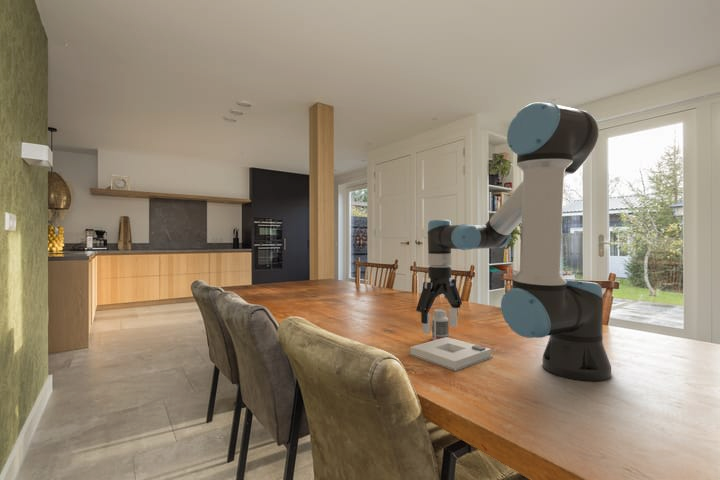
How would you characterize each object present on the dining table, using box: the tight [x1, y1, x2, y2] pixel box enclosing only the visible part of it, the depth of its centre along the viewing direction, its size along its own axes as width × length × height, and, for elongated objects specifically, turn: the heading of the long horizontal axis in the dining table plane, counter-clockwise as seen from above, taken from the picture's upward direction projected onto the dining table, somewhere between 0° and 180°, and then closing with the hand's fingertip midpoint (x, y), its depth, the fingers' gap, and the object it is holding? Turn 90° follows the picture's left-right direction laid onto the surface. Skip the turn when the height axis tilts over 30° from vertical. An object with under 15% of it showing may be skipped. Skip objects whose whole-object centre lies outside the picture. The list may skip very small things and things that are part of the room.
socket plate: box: [408, 337, 493, 372], centre depth 105 cm, size 17×17×3 cm
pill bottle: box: [431, 308, 450, 341], centre depth 122 cm, size 5×5×10 cm
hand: (440, 329), depth 122 cm, fingers open, 13 cm apart
